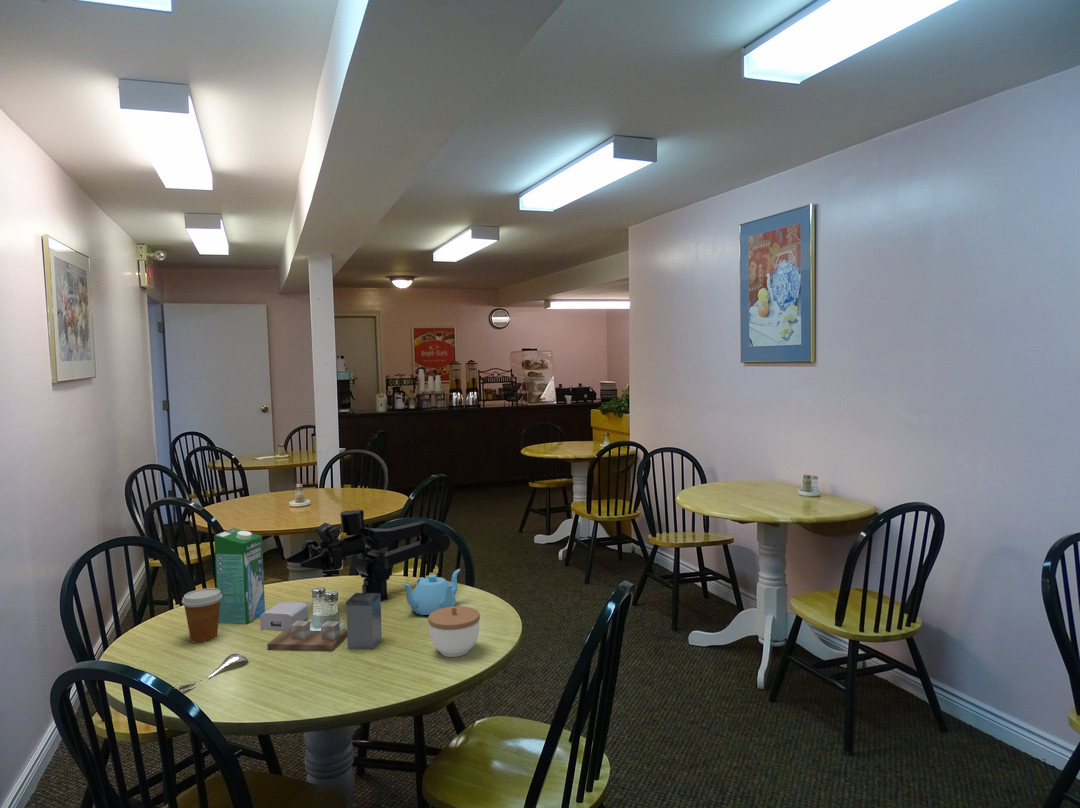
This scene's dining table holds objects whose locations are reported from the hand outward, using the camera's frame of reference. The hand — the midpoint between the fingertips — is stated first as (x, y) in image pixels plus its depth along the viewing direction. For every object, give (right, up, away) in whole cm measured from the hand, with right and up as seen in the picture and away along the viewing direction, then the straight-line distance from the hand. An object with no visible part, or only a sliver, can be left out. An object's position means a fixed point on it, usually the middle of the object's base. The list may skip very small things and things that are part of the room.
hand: (293, 562), depth 188 cm
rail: (+9, -17, -15) cm, 24 cm away
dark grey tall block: (+24, -17, -16) cm, 34 cm away
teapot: (+39, -16, +7) cm, 42 cm away
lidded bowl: (+48, -17, -22) cm, 55 cm away
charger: (-1, -17, +2) cm, 17 cm away
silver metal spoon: (-7, -19, -34) cm, 39 cm away
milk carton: (-16, -17, +4) cm, 24 cm away
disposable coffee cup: (-20, -18, -10) cm, 29 cm away
